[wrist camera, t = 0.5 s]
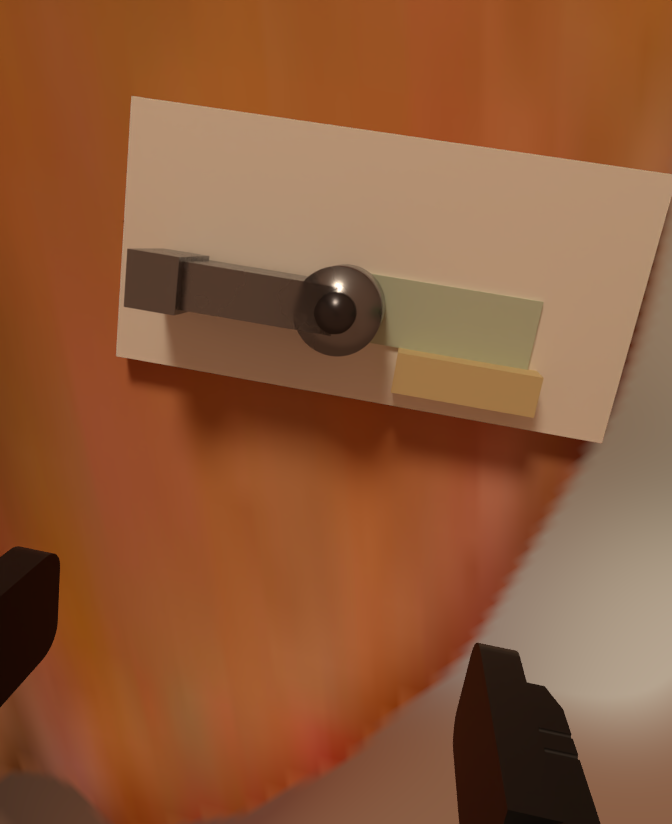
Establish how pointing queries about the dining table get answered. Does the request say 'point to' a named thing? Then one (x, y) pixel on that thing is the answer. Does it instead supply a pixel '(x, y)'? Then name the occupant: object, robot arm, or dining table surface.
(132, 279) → the latch bar
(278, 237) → the lock board
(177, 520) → the dining table surface
